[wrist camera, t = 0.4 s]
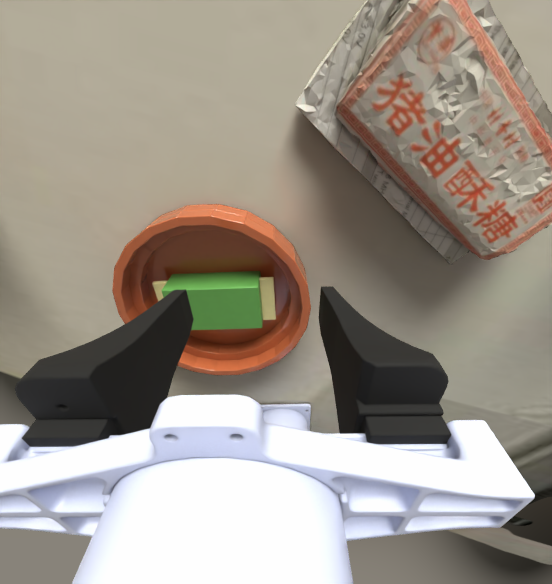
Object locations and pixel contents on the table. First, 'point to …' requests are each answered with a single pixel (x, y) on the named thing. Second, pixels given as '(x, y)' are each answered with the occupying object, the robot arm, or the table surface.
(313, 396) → the table surface
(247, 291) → the eraser with green sleeve
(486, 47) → the packaged product
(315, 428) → the table surface
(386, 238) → the table surface
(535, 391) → the table surface
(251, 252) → the bowl
